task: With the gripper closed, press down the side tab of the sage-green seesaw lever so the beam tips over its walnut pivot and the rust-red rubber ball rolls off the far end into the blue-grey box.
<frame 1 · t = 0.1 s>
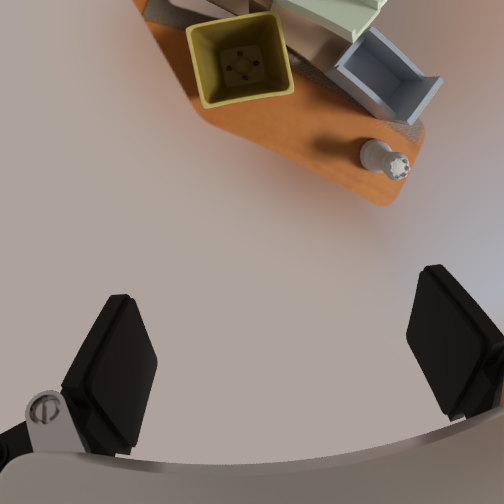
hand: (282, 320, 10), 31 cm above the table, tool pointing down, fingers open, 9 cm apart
blue-grey box: (366, 77, 33), on the table
catapult base: (271, 8, 29), on the table
flower pot: (241, 66, 33), on the table, touching catapult base
rook chess piece: (373, 154, 38), on the table
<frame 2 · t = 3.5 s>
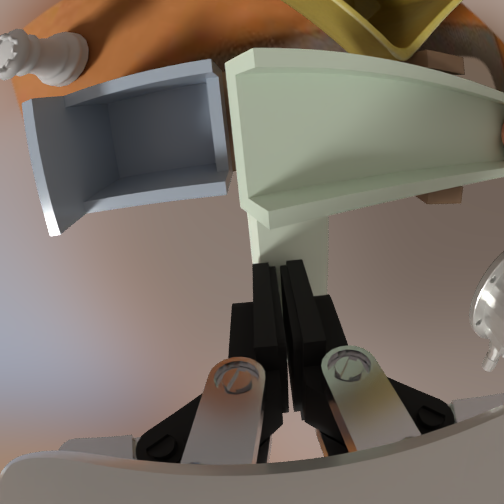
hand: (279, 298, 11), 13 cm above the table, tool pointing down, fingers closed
lever: (448, 201, 12), point 10 cm above the table, hinge at 22.0°, touching ball, gripper
blue-grey box: (164, 130, 20), on the table
catapult base: (370, 114, 19), on the table
flower pot: (336, 2, 16), on the table, touching catapult base
rook chess piece: (69, 59, 17), on the table
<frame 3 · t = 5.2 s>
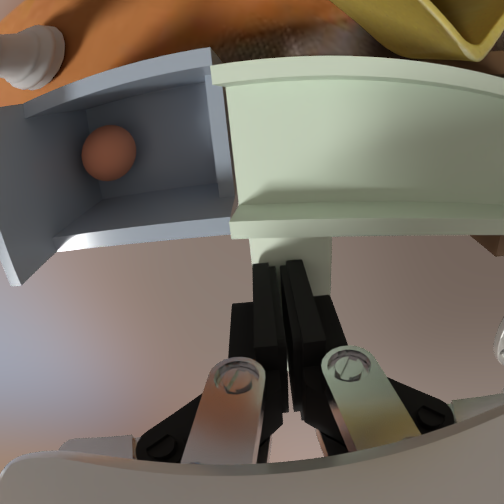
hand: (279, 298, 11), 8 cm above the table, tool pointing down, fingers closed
blue-grey box: (154, 140, 16), on the table
catapult base: (406, 124, 15), on the table
ball: (108, 152, 15), point 2 cm above the table, tilted 112°, touching blue-grey box
rook chess piece: (44, 58, 14), on the table
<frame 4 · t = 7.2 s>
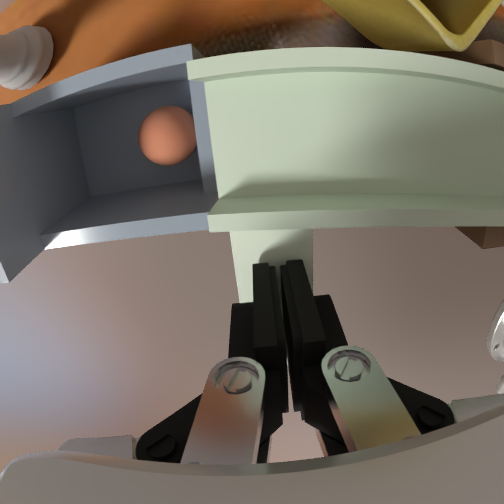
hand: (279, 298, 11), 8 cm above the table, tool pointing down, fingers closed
lever: (497, 244, 8), point 10 cm above the table, hinge at -7.9°
blue-grey box: (141, 138, 16), on the table
catapult base: (393, 118, 16), on the table
ball: (168, 135, 14), point 2 cm above the table, tilted 90°, touching blue-grey box
rook chess piece: (33, 58, 13), on the table
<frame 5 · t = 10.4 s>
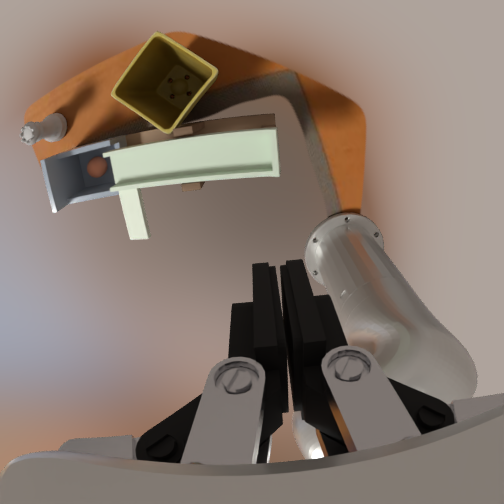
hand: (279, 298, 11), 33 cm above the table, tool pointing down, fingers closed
lever: (190, 189, 33), point 10 cm above the table, hinge at -7.9°
blue-grey box: (104, 163, 40), on the table
catapult base: (200, 146, 40), on the table
ball: (97, 167, 39), point 2 cm above the table, tilted 180°, touching blue-grey box
flower pot: (180, 86, 36), on the table, touching catapult base
rook chess piece: (57, 126, 37), on the table
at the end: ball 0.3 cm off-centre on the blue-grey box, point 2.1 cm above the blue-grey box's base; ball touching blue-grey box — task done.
